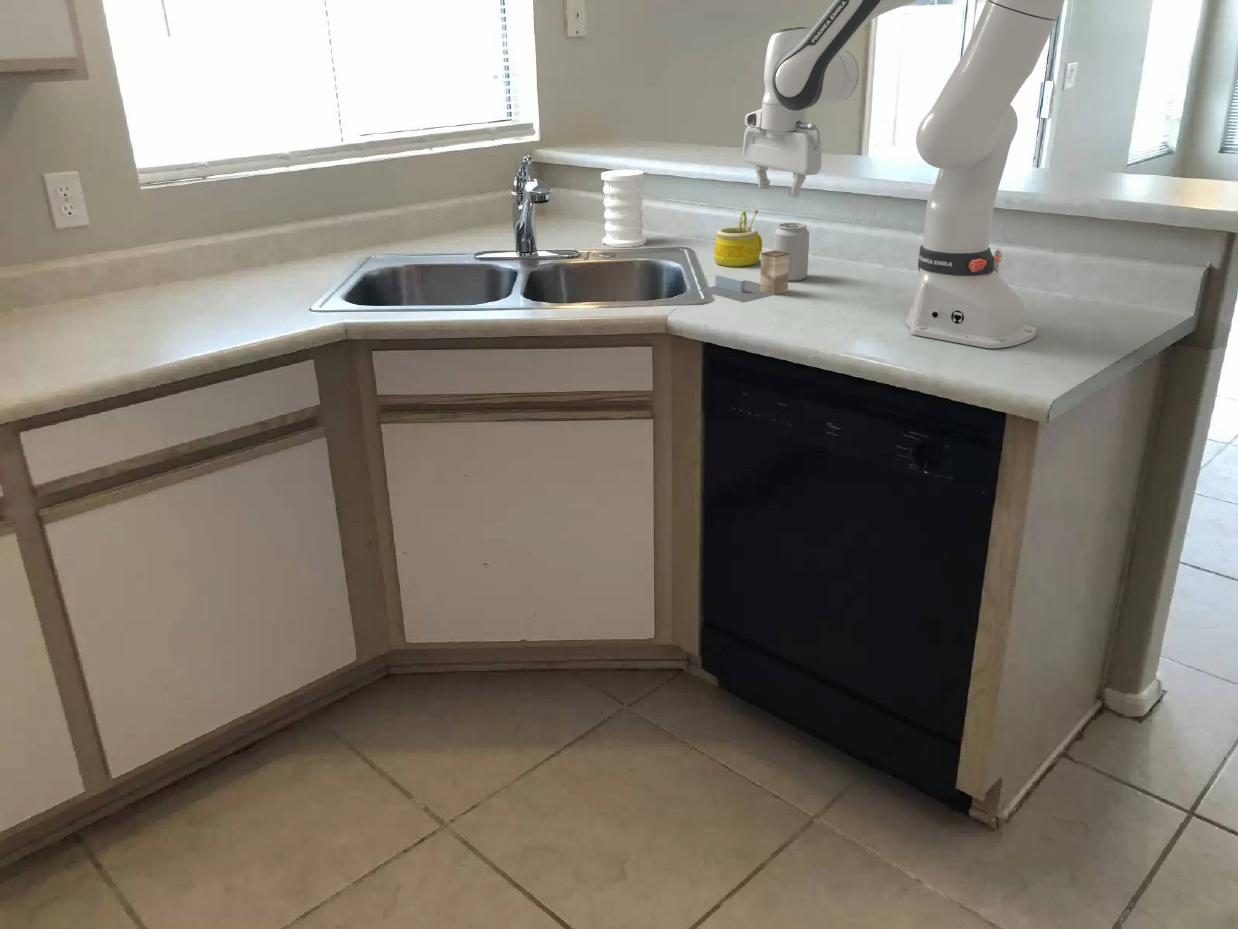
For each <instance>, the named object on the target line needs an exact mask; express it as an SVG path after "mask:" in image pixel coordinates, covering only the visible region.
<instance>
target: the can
mask: <svg viewBox="0 0 1238 929" xmlns="http://www.w3.org/2000/svg"><path fill="white" fill-rule="evenodd" d="M807 226H808V225H807V224H806V223H802V222H783V223H779V224H777V228H776V230H775V231H774V232H773V250H777V251H782V252H787V253H789V268H788V282H798V281H802V280H804V279H806V278H807V277H808V271H809V270H808V269H809V250H810V249H809V248H810V245H809V244H810V230H809V229H807Z"/></svg>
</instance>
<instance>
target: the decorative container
mask: <svg viewBox="0 0 1238 929" xmlns="http://www.w3.org/2000/svg"><path fill="white" fill-rule="evenodd" d="M600 176H601V177H600V179H601V180H603V181H604V182H603V183H604V186H603V188H602V192H603V193H604V199H603V205H604V208H605V211H604V213H603V215H604V219H605V225H604V230H605V233H606V235H605V237H603V238H602V244H603V243H606V244H609V245H614V246H636V245H641V244H644V243H646V244H647V237H646V236H645V235H643V229H644V223H643V220H642V219H643V216H644V213H643V212H644V211H643V209H642V205H643V201H644V200H643V198H642V192H643V185H642V181H641V180H642V179H644V171H642V170H637V169H618V170H617V169H615V170H608V171H603V172H601V174H600ZM644 245H645V244H644Z"/></svg>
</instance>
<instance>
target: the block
mask: <svg viewBox="0 0 1238 929" xmlns="http://www.w3.org/2000/svg"><path fill="white" fill-rule="evenodd" d="M788 268H789V253H787V252H782V251H777V250H774V249H773V250H769V251H765V252H761V253H760V280H759V281H760V282H759V284H760V291H761V292H765V293H769V294H773V295H772V296H776V295H780V294H783V292H784V293H787V291H788V292H789V290H788V287H789V286H788V285H789V281H788ZM779 293H780V294H779ZM775 294H776V295H775Z"/></svg>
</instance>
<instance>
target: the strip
mask: <svg viewBox="0 0 1238 929" xmlns="http://www.w3.org/2000/svg"><path fill="white" fill-rule="evenodd" d="M714 276H715V277H714V278H715V280H714V281H715V284H714V286H718V287H721V288H725V289H729V290H733V291H737V292H740V293H742V292H745V280H746V279H742V278H739V277H734V276H729V275H725V274H722V273H719V274H715V275H714Z"/></svg>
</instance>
